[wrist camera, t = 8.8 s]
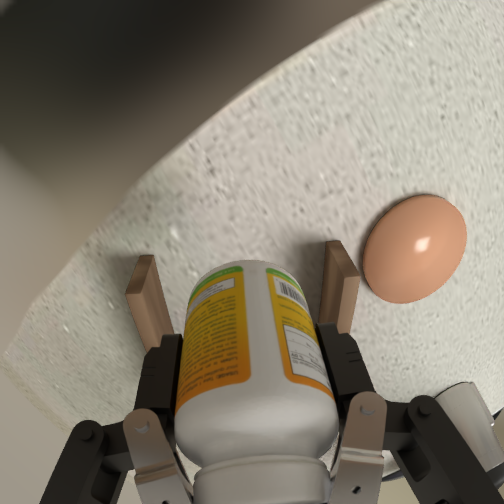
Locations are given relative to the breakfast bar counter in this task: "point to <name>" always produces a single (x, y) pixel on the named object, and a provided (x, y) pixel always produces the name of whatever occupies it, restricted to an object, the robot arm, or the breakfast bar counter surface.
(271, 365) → the supplement bottle
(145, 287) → the cubby
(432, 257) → the coaster
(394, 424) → the robot arm
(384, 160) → the breakfast bar counter surface
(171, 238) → the breakfast bar counter surface
